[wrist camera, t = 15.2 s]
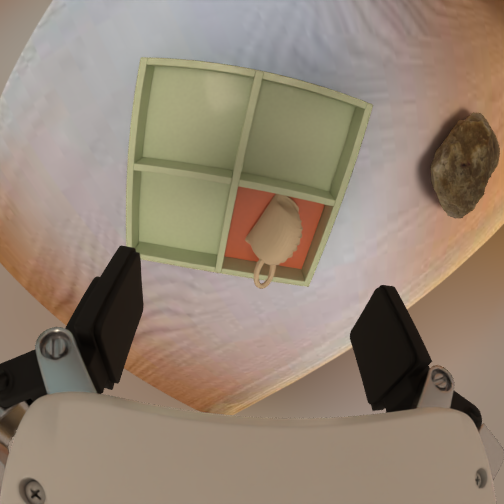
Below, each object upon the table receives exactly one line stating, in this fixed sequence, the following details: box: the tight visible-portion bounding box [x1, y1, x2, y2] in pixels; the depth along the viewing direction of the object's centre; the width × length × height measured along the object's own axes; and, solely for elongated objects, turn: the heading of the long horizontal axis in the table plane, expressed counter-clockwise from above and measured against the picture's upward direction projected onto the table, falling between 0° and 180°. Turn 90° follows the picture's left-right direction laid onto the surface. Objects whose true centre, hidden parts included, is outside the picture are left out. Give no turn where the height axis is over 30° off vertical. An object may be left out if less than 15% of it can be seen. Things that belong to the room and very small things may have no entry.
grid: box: [126, 57, 373, 287], centre depth 27 cm, size 21×21×3 cm
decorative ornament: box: [245, 194, 303, 289], centre depth 29 cm, size 4×8×5 cm, turn 147°
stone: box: [430, 113, 500, 218], centre depth 25 cm, size 13×8×8 cm
